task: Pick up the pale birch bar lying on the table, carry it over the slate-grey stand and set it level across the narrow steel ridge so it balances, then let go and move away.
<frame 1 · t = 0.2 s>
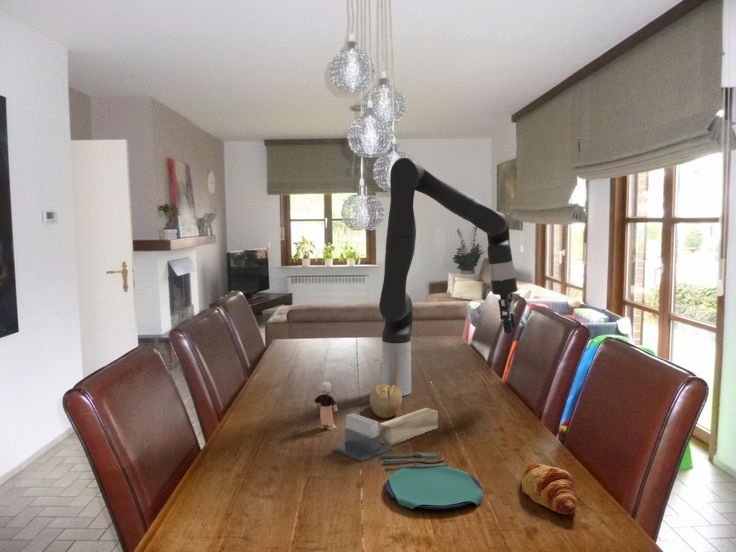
hand: (510, 330, 182), 22 cm above the table, tool pointing down, fingers open, 8 cm apart
grandmother figurine: (326, 428, 164), on the table
bread roll: (385, 412, 177), on the table
cutlery set: (427, 484, 130), on the table
croissant: (549, 497, 122), on the table
ridge stand: (362, 450, 148), on the table
birch bar: (409, 435, 158), on the table
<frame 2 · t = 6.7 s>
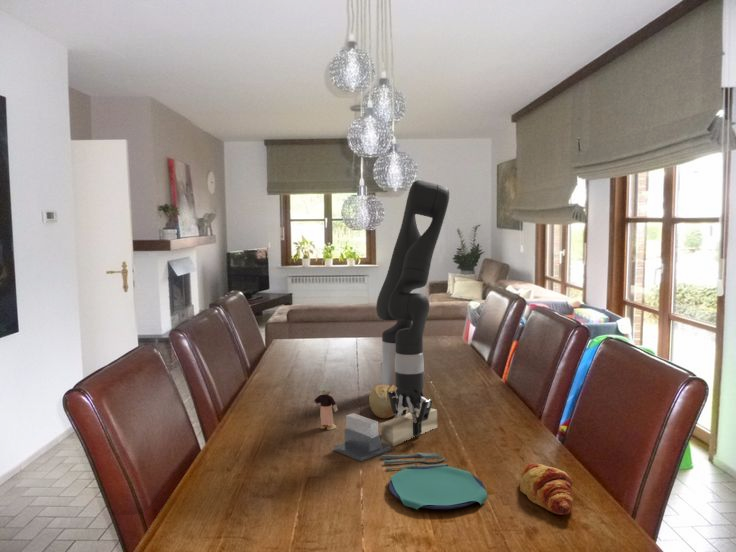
hand: (410, 432, 158), 0 cm above the table, tool pointing down, fingers closed on birch bar, 4 cm apart
birch bar: (410, 434, 158), on the table, touching gripper
everything else where it was.
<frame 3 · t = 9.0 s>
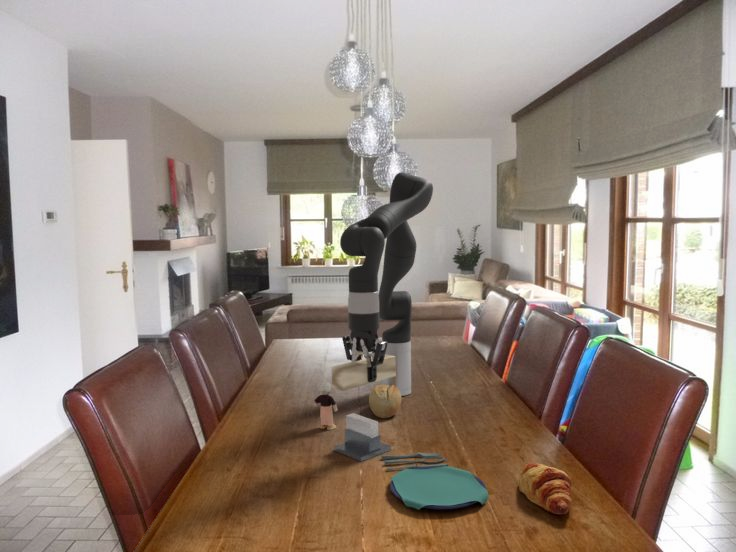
hand: (364, 379, 146), 18 cm above the table, tool pointing down, fingers closed on birch bar, 4 cm apart
birch bar: (365, 381, 146), point 17 cm above the table, touching gripper
everything else where it was.
when the fingers open (9 cm above the table, at t = 11.8 s): birch bar stays where it is, resting on ridge stand.
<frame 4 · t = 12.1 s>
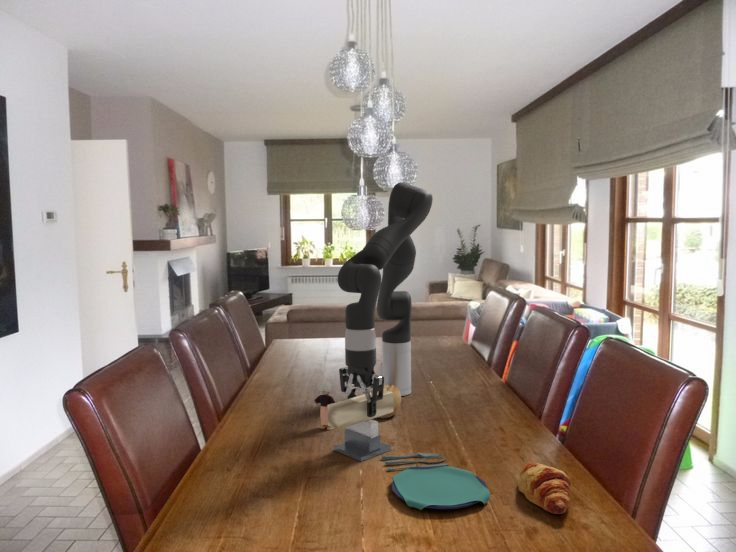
hand: (361, 413, 147), 9 cm above the table, tool pointing down, fingers open, 6 cm apart
birch bar: (361, 418, 147), point 8 cm above the table, touching ridge stand
everything else where it was.
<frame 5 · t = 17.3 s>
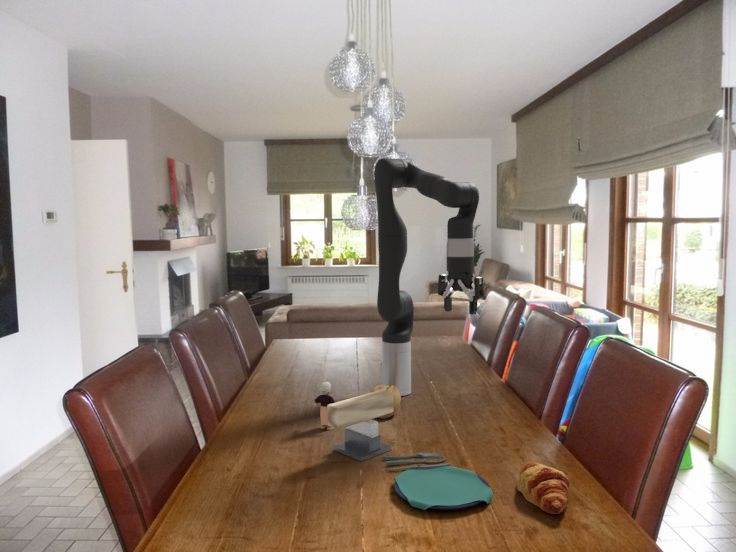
hand: (460, 312, 168), 30 cm above the table, tool pointing down, fingers open, 8 cm apart
at the end: birch bar inside the target area on the ridge stand (0.0 cm from its centre), point 8.0 cm above the ridge stand's base; birch bar touching ridge stand; birch bar tilted 0° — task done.
